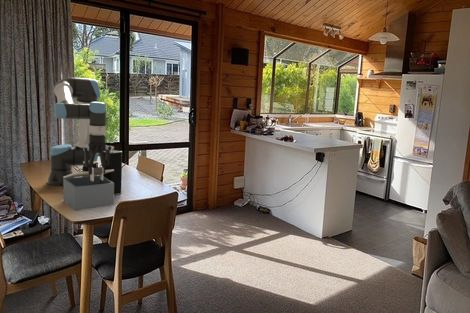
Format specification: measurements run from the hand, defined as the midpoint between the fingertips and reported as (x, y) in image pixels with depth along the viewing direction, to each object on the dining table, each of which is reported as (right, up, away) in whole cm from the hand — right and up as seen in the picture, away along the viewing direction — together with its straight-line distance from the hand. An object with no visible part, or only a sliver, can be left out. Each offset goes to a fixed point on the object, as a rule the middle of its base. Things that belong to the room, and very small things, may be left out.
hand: (96, 180), depth 186 cm
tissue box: (-3, -10, +30) cm, 32 cm away
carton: (-8, -13, +11) cm, 19 cm away
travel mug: (-15, -9, +29) cm, 34 cm away
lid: (-6, +2, +6) cm, 9 cm away
